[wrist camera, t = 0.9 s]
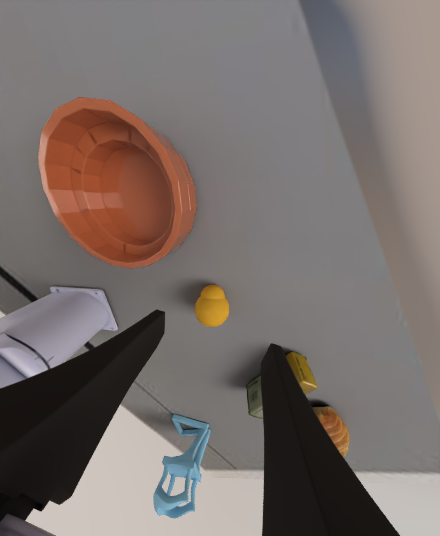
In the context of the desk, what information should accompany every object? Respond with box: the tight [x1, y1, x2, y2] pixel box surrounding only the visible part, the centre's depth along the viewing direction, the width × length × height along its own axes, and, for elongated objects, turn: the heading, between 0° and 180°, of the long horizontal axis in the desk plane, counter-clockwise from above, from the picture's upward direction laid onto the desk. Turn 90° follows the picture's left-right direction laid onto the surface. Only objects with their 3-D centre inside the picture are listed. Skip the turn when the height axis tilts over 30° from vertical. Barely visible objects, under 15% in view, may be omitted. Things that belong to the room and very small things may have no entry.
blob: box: [195, 285, 229, 327], centre depth 19 cm, size 4×5×4 cm
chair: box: [154, 414, 211, 518], centre depth 31 cm, size 8×8×12 cm
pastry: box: [312, 406, 350, 457], centre depth 26 cm, size 9×7×4 cm
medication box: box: [246, 352, 318, 419], centre depth 23 cm, size 12×3×4 cm, turn 152°
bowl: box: [38, 97, 197, 268], centre depth 15 cm, size 12×13×5 cm
